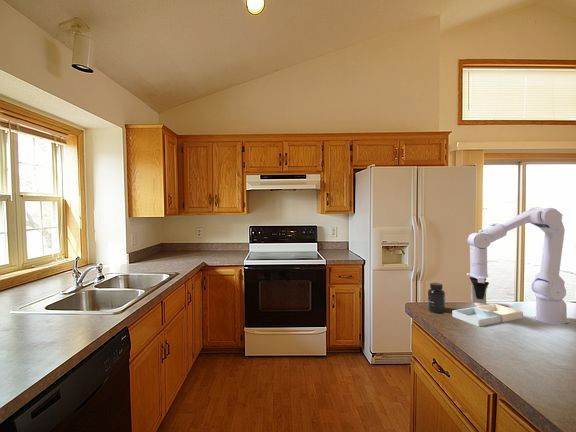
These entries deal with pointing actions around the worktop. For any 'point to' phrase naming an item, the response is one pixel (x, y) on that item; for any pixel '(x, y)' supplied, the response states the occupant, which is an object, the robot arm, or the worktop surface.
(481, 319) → the bin
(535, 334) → the worktop surface
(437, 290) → the supplement bottle
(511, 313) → the bin
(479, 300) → the stone block
